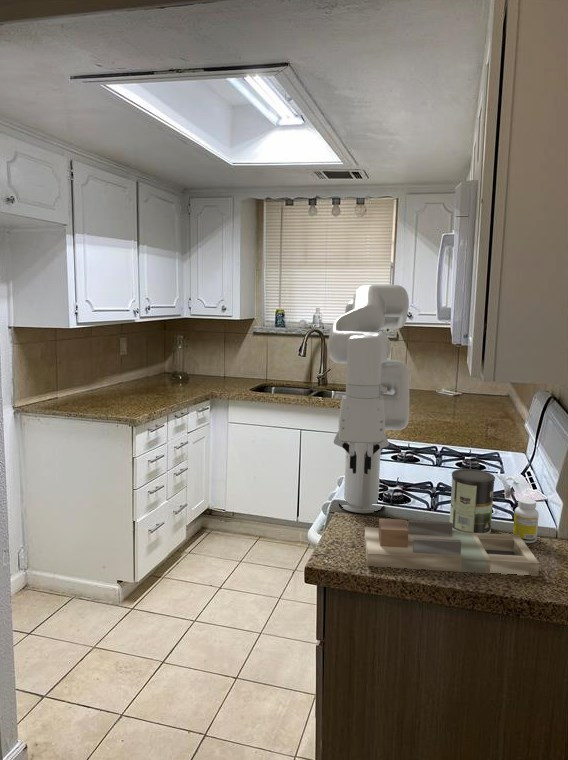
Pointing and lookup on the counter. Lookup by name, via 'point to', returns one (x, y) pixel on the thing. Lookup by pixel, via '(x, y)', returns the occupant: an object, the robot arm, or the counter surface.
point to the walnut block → (393, 533)
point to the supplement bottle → (526, 520)
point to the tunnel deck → (452, 551)
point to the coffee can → (471, 501)
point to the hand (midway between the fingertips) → (359, 471)
